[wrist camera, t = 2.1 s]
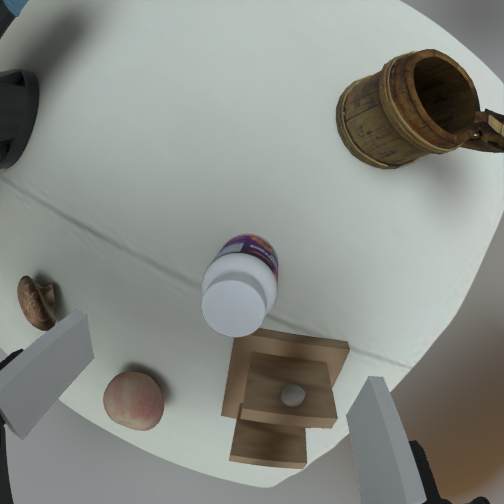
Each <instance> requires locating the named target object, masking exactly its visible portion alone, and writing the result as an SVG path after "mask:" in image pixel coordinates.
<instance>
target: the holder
mask: <svg viewBox="0 0 504 504" xmlns="http://www.w3.org/2000/svg"><path fill="white" fill-rule="evenodd" d="M349 351H350V348H349V345H348V342H346V341H337V340H330V339H322V338H315V337H308V336H301V335H295V334H289V333H283V332H277V331H271V330H266V329H260V328H258V329H257V330H256V331H254V332H253V333H251V334H249V335H246V336H243V337H235V338H234V344H233V349H232V355H231V361H230V367H229V372H228V378H227V384H226V390H225V396H224V401H223V407H222V413H221V416H225V417H230V418H236V419H237V420H236V426H235V431H234V436H233V442H232V447H231V452H230V458H229V461H233V462H239V463H245V464H252V465H260V466H269V467H279V468H294V469H303V468H304V467H305V465H306V464H307V451H306V432H305V428H311V427H313V428H332V427H333V425H334V423H335V422H336V420H337V419H338V418H337V412H336V407H335V402H334V396H333V391H332V388H333V386H334V384H335V381H336V379H337V377H338V375H339V373H340V371H341V369H342V367H343V364H344V362H345V360H346V358H347V355H348V353H349Z"/></svg>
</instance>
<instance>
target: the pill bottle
mask: <svg viewBox="0 0 504 504" xmlns="http://www.w3.org/2000/svg"><path fill="white" fill-rule="evenodd" d="M277 277H278V261H277V256H276V253H275V251H274V249H273V247H272V246H271V245H270V244H269V243H268V242H267V241H266V240H265V239H263V238H261V237H259V236H256V235H252V234H244V235H239V236H236V237H234V238H233V239H231V240H230V241H229V242H227V243H226V244H225V246H224V247H223V248H222V250H221V251H220V252H219V253H218V255H217V256H216V257H215V259H214V260H213V262H212V263H211V264H210V265H209V267H208V268H207V270H206V272H205V274H204V276H203V279H202V286H201V290H202V296H203V298H202V302H201V311H202V314H203V317H204V319H205V321H206V322H207V324H208V325H209V326H210V327H211V328H212V329H213V330H215V331H216V332H218V333H220V334H222V335H225V336H229V337H243V336H246V335H249V334H251V333H253V332H254V331H256V330H257V329H258V328H259V327H260V326H261V324H262V322H263V320H264V318H265V316H266V315H267V314H268V313H269V312H270V311H271V309H272V307H273V306H274V303H275V301H276V296H277V279H278V278H277Z"/></svg>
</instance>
